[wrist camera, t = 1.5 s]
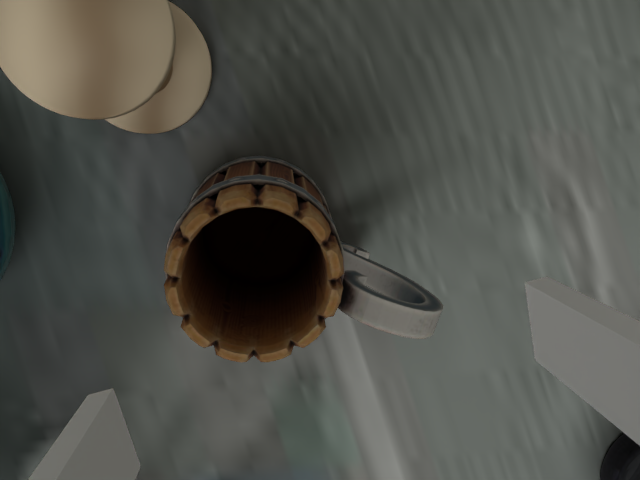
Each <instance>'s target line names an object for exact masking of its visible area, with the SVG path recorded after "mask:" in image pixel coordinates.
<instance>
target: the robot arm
mask: <svg viewBox="0 0 640 480" xmlns="http://www.w3.org/2000/svg"><path fill="white" fill-rule="evenodd" d="M525 290H526V297H527V304H528V312H529V319H530V326H531V334H532V341H533V348H534V356H535V360H536V361H537V362H538V363H539V364H540V365H542V366H543V367H544V368H545V369H547V370H548V371H549V372H550V373H551V374H553V375H554V376H555V377H556V378H558V379H559V380H560V381H561V382H562V383H564V384H565V385H566V386H567V387H569V388H570V389H571V390H572V391H573V392H575V393H576V394H577V395H578V396H580V397H581V398H582V399H583V400H584V401H586V402H587V403H588V404H589V405H591V406H592V407H593V408H594V409H595V410H597V411H598V412H599V413H600V414H601V415H603V416H604V417H605V418H606V419H608V420H609V421H610V422H611V423H612V424H614V425H615V426H616V427H617V428H619V429H620V430H621V431H622V432H623V433H625V434H626V435H627V436H628V437H630V438H631V439H632V440H633V441H634V442H636V443H637V444H638V445H639V446H640V321H638V320H636V319H634V318H632V317H630V316H628V315H626V314H624V313H622V312H620V311H618V310H615V309H613V308H611V307H609V306H607V305H605V304H603V303H601V302H599V301H597V300H595V299H593V298H591V297H589V296H587V295H584V294H582V293H580V292H578V291H576V290H574V289H572V288H570V287H568V286H566V285H564V284H562V283H560V282H558V281H556V280H553V279H551V278H549V277H543V278H539V279H536V280H532V281H528V282H525ZM140 467H141V464H140V461H139V459H138V456H137V453H136V450H135V447H134V445H133V442H132V439H131V436H130V434H129V431H128V428H127V425H126V422H125V420H124V417H123V414H122V411H121V408H120V406H119V403H118V400H117V397H116V394H115V392H114V389H113V388H112V389H108V390H104V391H101V392H97V393H93V394H89V395H87V397H86V398H85V400H84V401H83V403H82V404H81V405H80V407H79V408H78V410H77V411H76V412H75V414H74V415H73V417H72V418H71V419H70V421H69V422H68V424H67V425H66V426H65V428H64V429H63V431H62V432H61V434H60V435H59V436H58V438H57V439H56V441H55V442H54V443H53V445H52V446H51V448H50V449H49V450H48V452H47V453H46V455H45V456H44V458H43V459H42V460H41V462H40V463H39V465H38V466H37V467H36V469H35V470H34V472H33V473H32V474H31V476H30V477H29V479H28V480H136V477H137V474H138V472H139V469H140Z"/></svg>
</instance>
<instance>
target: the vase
mask: <svg viewBox="0 0 640 480" xmlns="http://www.w3.org/2000/svg"><path fill="white" fill-rule="evenodd" d="M15 229H16V223H15V211H14V206H13V202H12V198H11V194H10V192H9V189H8V187H7V185H6V182H5V180H4V178H3V176H2V174H1V173H0V280H1V279H2V277H3V275H4V273H5V271H6V269H7V267H8V265H9V262H10V259H11V255H12V252H13V248H14V240H15Z"/></svg>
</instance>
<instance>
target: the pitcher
mask: <svg viewBox="0 0 640 480" xmlns="http://www.w3.org/2000/svg"><path fill="white" fill-rule="evenodd" d="M600 479H601V480H640V446H639V445H638V444H637V443H636V442H634V441H633V440H632V439H631V438H630V437H628V436H627V435H626V434H625V433H624V434H623V435H622V436H620V437H619V438H618V439H617V440H616V441H615V443H614V444H613V445H612V446H611V447H610V449H609V451H608V453H607V454H606V456H605V458H604V461H603V464H602V467H601V474H600Z"/></svg>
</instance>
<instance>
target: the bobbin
mask: <svg viewBox="0 0 640 480" xmlns="http://www.w3.org/2000/svg"><path fill="white" fill-rule="evenodd" d="M0 67H1V69H2V70H3V72H4V73H5V74H6V76H7V77H8V78H9V80H10V81H11V82H12V83H13V84H14V85H15V86H16V87H17V88H18V89H19V90H20V91H21V92H22V93H23V94H25V95H26V96H27V97H28V98H30V99H31V100H33V101H34V102H36V103H37V104H39V105H41V106H43V107H44V108H46V109H48V110H50V111H53V112H56V113H59V114H61V115H66V116H70V117H75V118H83V119H92V120H97V119H105V120H106V121H108V122H109V123H111V124H113V125H115V126H117V127H119V128H121V129H124V130H127V131H131V132H135V133H144V134H157V133H163V132H167V131H171V130H174V129H176V128H178V127H180V126H182V125H183V124H185V123H186V122H188V121H189V120H190V119H191V118H193V117H194V116H195V115H196V113H197V112H198V111H199V110H200V108H201V107H202V105H203V104H204V102H205V100H206V98H207V96H208V93H209V90H210V86H211V80H212V62H211V57H210V52H209V49H208V46H207V44H206V42H205V39H204V37H203V35H202V34H201V32H200V31H199V29H198V27H197V26H196V24H195V23H194V22H193V21H192V19H191V18H190V17H189V16H188V15H187V14H186V13H185V12H184V11H183V10H181V9H180V8H179V7H177V6H176V5H175V4H173V3H171V2H169V1H168V0H0Z"/></svg>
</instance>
